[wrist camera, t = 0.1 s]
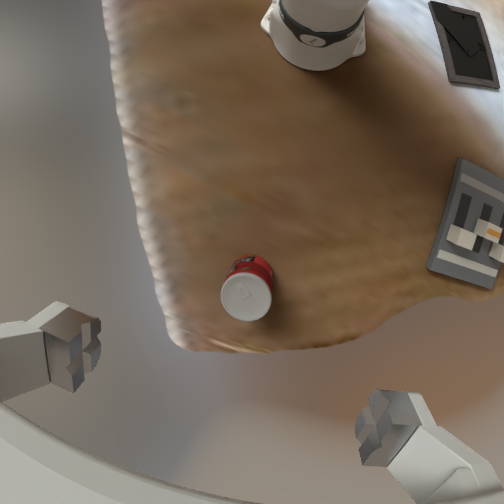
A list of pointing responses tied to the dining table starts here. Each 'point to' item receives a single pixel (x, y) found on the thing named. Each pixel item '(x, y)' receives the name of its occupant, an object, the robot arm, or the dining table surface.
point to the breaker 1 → (461, 237)
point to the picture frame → (464, 45)
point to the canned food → (248, 288)
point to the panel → (470, 225)
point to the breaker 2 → (497, 252)
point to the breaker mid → (488, 230)
